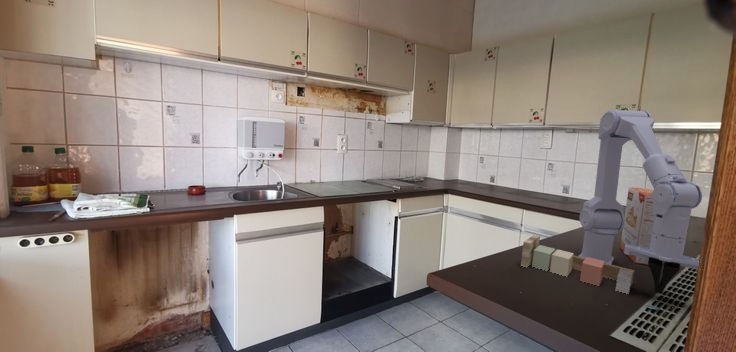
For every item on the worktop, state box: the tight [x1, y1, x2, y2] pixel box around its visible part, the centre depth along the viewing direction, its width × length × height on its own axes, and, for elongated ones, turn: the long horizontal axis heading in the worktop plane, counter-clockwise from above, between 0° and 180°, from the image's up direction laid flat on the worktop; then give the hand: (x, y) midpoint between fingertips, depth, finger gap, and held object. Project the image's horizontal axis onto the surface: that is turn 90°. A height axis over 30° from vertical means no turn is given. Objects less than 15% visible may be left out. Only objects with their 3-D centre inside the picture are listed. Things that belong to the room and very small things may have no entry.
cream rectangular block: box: [549, 248, 575, 278], centre depth 90 cm, size 6×4×5 cm, turn 139°
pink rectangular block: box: [579, 257, 605, 287], centre depth 85 cm, size 6×4×5 cm, turn 138°
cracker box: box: [619, 187, 655, 266], centre depth 102 cm, size 14×6×21 cm, turn 157°
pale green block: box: [531, 244, 556, 272], centre depth 93 cm, size 6×4×5 cm, turn 139°
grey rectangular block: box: [614, 269, 633, 295], centre depth 81 cm, size 6×2×4 cm, turn 138°
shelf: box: [520, 234, 635, 286], centre depth 88 cm, size 10×24×7 cm, turn 48°
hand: (658, 291), depth 77 cm, fingers closed
